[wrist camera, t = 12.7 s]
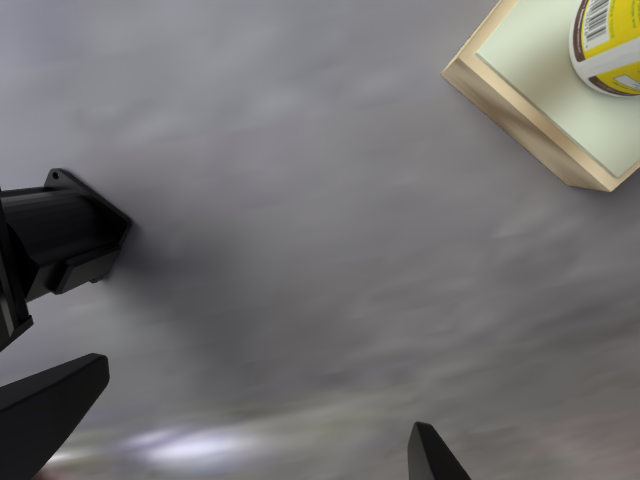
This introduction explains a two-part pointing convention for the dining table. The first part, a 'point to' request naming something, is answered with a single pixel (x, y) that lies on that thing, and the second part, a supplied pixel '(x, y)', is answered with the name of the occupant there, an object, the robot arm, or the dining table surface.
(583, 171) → the cream flat square block
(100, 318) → the dining table surface
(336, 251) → the dining table surface
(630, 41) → the supplement bottle
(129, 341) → the dining table surface
